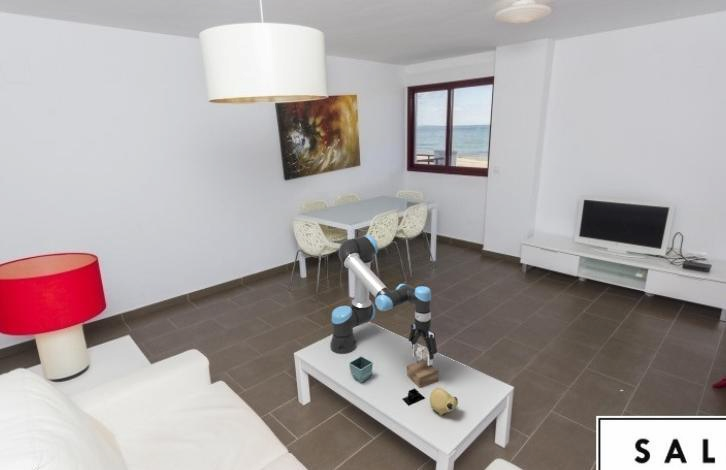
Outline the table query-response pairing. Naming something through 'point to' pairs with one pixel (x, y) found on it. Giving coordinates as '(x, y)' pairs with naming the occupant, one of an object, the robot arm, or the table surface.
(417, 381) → the walnut block
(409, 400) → the black angular block
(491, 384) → the table surface
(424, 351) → the game die
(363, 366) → the flower pot
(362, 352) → the table surface
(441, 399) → the toy pig
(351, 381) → the table surface
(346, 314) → the robot arm
